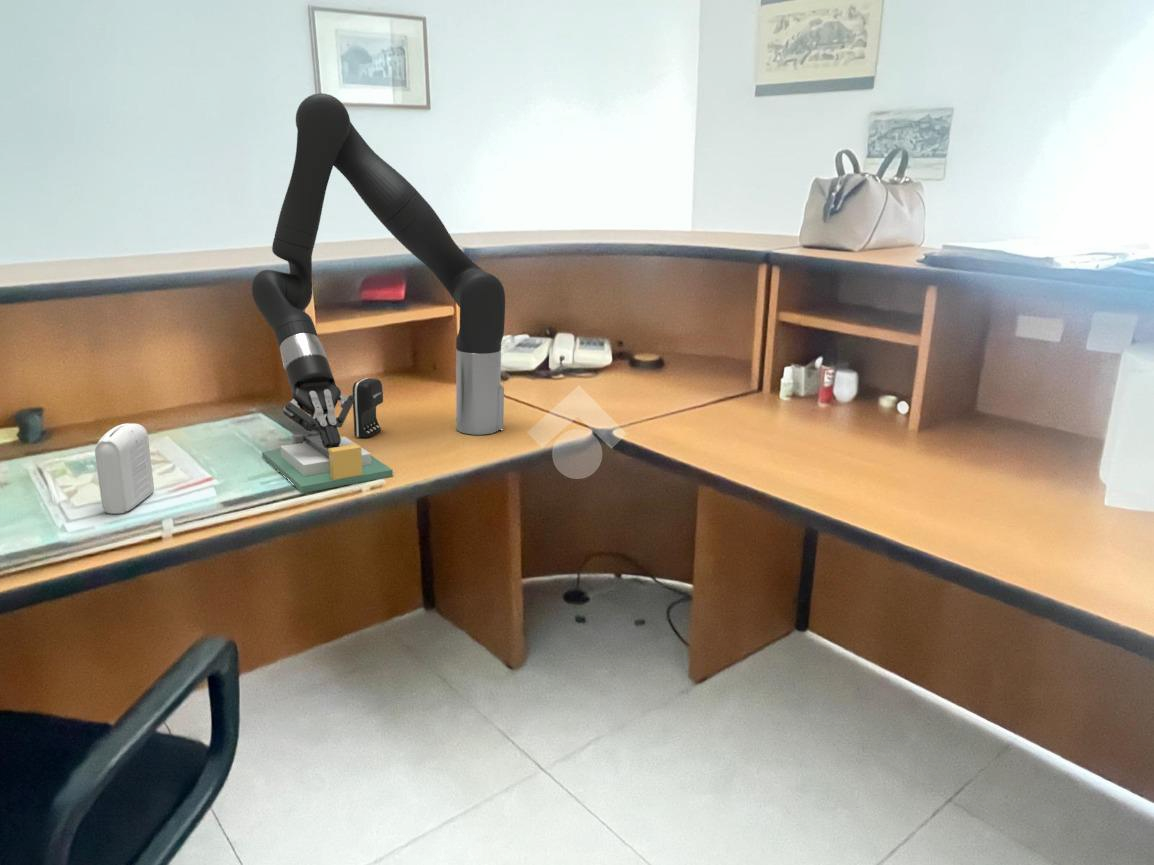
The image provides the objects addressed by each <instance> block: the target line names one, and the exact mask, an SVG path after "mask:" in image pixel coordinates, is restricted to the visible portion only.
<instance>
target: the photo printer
mask: <svg viewBox="0 0 1154 865" xmlns="http://www.w3.org/2000/svg"><path fill="white" fill-rule="evenodd" d="M150 450H151V449H150V441H149V433H148V431H147V430H146V428H145V427H144V426H143V425H141V424H139V423H122V424H119V425H116V426H114V427H113V428H111V429H109V430H108V431H107V432H105V434H103V436H102V437H101V438H99V441H98V442H97V443H96V446H95V448H94V455H95V462H96V471H97V480H98V486H99V493H100V501H101V507H102V510H103V511H104V512H106V514H112V515H113V514H116V515H117V514H124V513H126V512H129V511H130V510H132V509H134V508H135V507H136V506H138V505H139V504H140V503H141V502H143V501H144V500H145V499H147V498H148V497H149V496H150V495H152V494H153V493H154V490H155V486H154V477H153V468H152V459H151V458H152V457H151V451H150Z"/></svg>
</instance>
